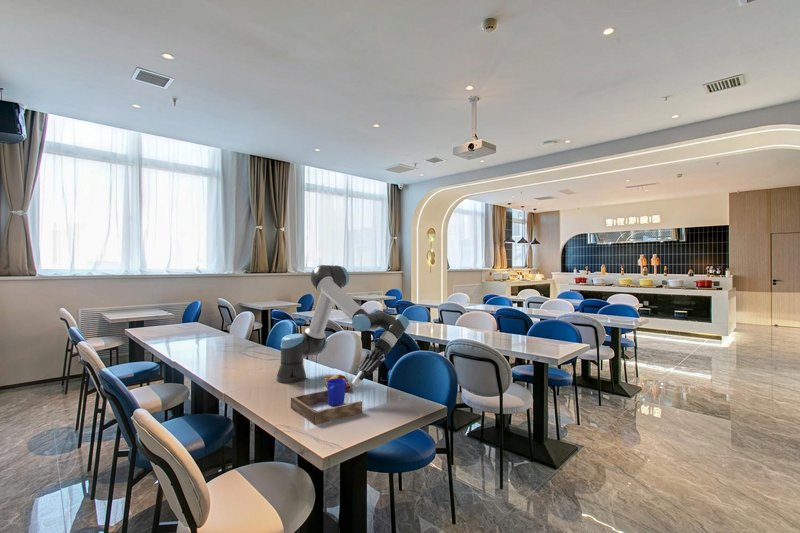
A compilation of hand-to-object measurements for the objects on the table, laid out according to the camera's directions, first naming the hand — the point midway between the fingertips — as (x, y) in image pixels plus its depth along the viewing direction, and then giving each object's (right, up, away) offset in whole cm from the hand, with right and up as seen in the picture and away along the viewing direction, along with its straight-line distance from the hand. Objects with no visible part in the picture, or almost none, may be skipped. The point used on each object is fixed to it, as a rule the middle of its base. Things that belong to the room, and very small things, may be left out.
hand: (354, 384), depth 166 cm
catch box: (-10, -8, -8) cm, 15 cm away
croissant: (-11, -9, +24) cm, 28 cm away
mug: (-8, -8, -3) cm, 12 cm away
